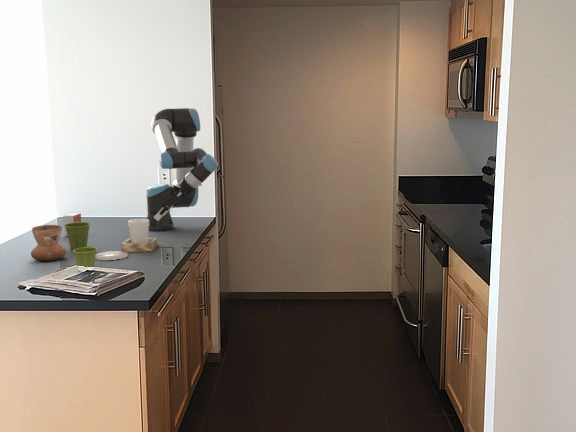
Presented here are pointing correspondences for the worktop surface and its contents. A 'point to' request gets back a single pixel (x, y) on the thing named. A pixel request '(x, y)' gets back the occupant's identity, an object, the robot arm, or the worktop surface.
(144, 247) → the holder
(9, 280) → the worktop surface
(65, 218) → the small box
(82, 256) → the plant pot
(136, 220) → the foam cup
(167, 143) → the robot arm
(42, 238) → the ceramic jug
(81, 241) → the plant pot
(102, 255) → the disc
